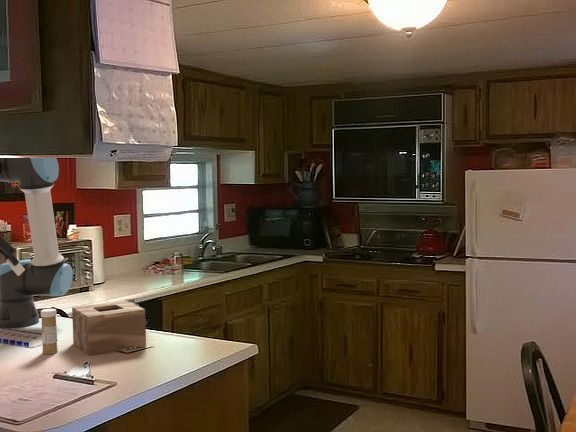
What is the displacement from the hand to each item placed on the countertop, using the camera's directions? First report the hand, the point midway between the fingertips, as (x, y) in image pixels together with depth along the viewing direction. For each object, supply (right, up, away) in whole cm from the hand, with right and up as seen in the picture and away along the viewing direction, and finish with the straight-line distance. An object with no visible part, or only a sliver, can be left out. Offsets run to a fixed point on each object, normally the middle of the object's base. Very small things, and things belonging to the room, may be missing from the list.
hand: (8, 273), depth 210 cm
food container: (+30, -23, +31) cm, 49 cm away
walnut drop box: (+28, -24, +11) cm, 39 cm away
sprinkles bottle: (+12, -25, +3) cm, 28 cm away
